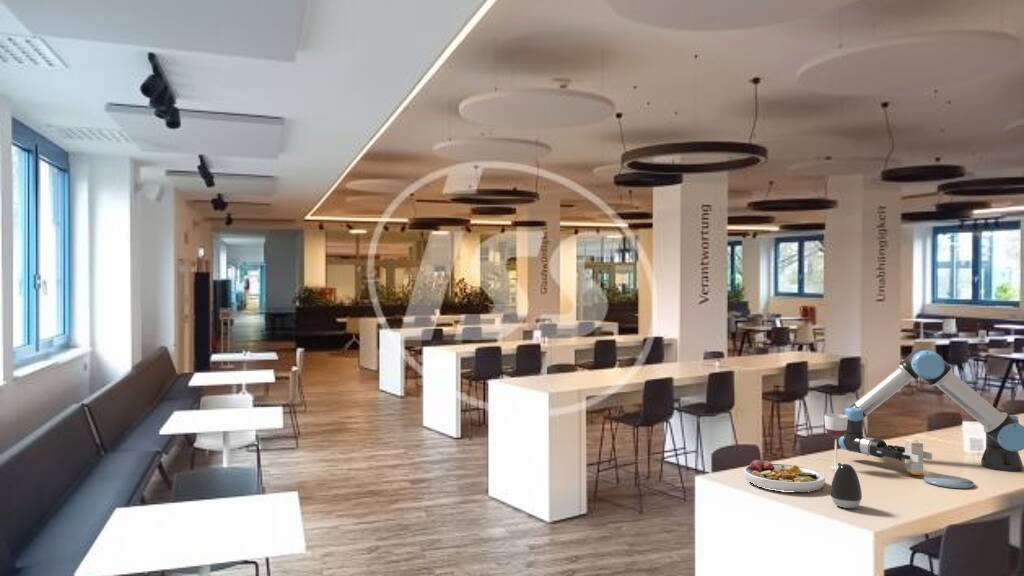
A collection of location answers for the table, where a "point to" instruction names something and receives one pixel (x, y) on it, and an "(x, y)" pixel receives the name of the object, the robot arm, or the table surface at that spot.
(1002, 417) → the robot arm
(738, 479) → the table surface
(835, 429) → the wineglass
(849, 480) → the black egg-shaped piece
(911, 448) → the supplement box
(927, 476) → the dish
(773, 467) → the bowl
